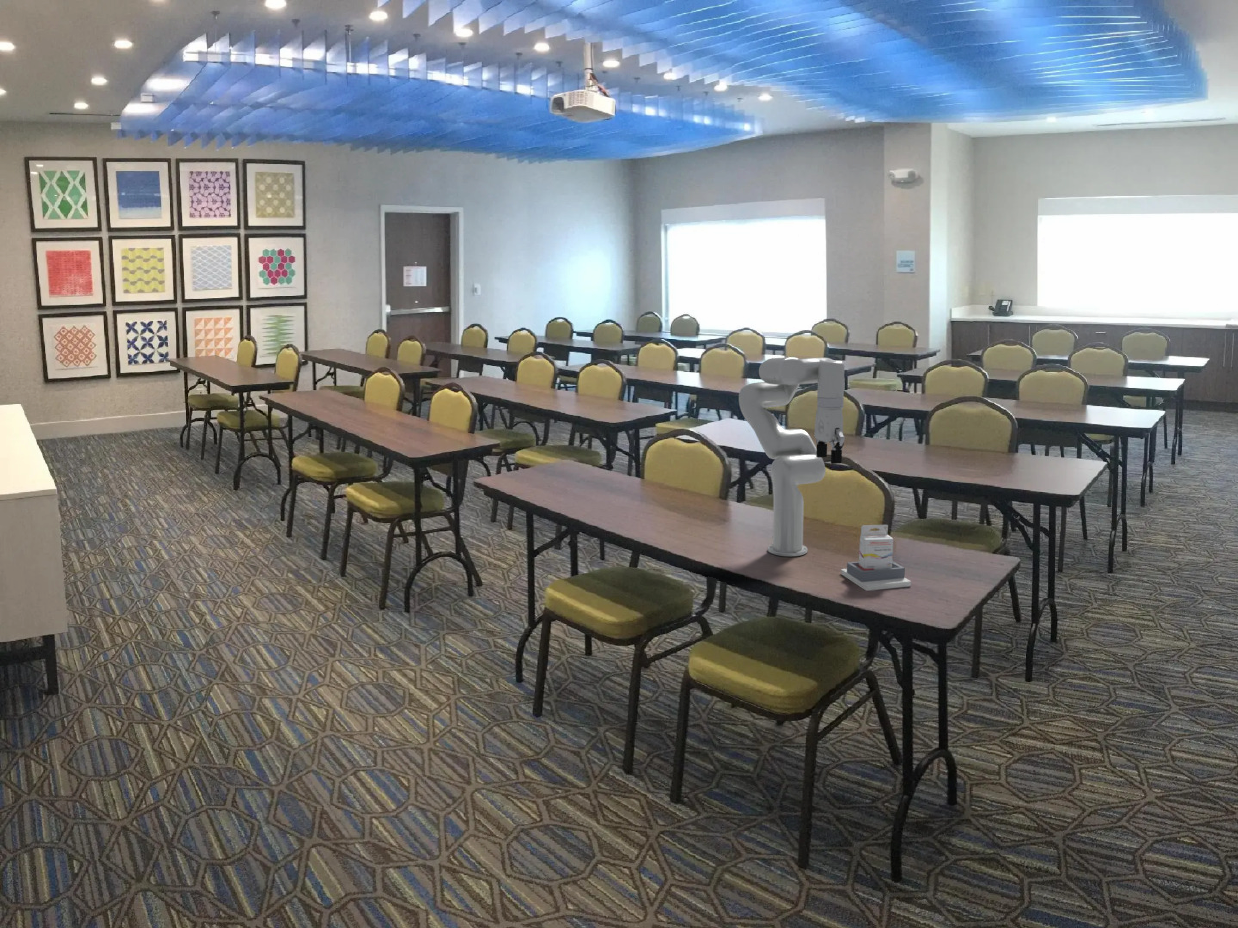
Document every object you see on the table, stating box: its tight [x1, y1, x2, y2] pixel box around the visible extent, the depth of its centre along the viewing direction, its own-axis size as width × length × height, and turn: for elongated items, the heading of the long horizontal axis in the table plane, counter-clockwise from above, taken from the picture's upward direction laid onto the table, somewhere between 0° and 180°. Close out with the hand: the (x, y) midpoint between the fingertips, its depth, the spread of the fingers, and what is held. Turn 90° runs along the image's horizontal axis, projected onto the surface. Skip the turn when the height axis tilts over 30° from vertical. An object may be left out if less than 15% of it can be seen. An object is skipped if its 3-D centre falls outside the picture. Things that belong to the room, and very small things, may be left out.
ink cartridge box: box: [858, 524, 894, 571], centre depth 280 cm, size 9×5×15 cm, turn 95°
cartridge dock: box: [840, 560, 912, 592], centre depth 281 cm, size 16×14×4 cm
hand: (828, 460), depth 284 cm, fingers open, 9 cm apart
